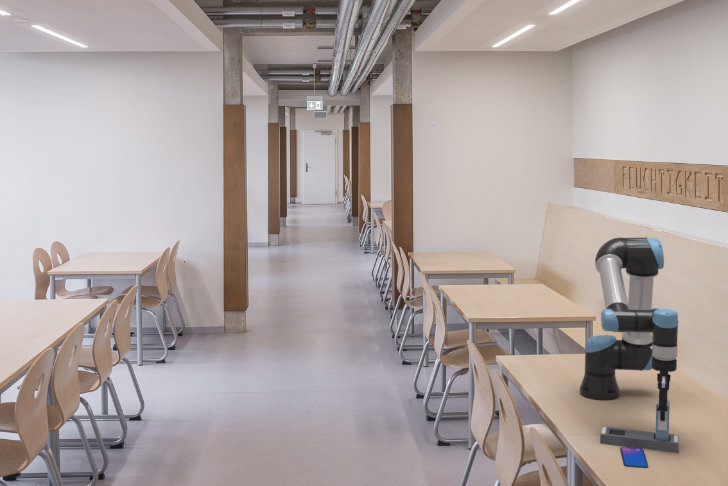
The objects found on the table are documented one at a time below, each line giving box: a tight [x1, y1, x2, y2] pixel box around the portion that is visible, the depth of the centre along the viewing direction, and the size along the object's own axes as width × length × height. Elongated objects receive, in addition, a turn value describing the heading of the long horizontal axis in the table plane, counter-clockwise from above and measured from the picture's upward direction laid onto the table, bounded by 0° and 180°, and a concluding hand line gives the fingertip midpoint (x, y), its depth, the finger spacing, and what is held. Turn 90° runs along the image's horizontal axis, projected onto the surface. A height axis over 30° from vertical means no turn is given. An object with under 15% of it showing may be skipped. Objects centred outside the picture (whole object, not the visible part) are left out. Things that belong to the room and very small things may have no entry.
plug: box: [655, 399, 671, 441], centre depth 247 cm, size 4×4×13 cm
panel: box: [599, 426, 680, 454], centre depth 250 cm, size 8×24×3 cm, turn 68°
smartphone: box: [619, 446, 649, 469], centre depth 239 cm, size 7×1×15 cm
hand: (662, 427), depth 247 cm, fingers closed on plug, 4 cm apart
